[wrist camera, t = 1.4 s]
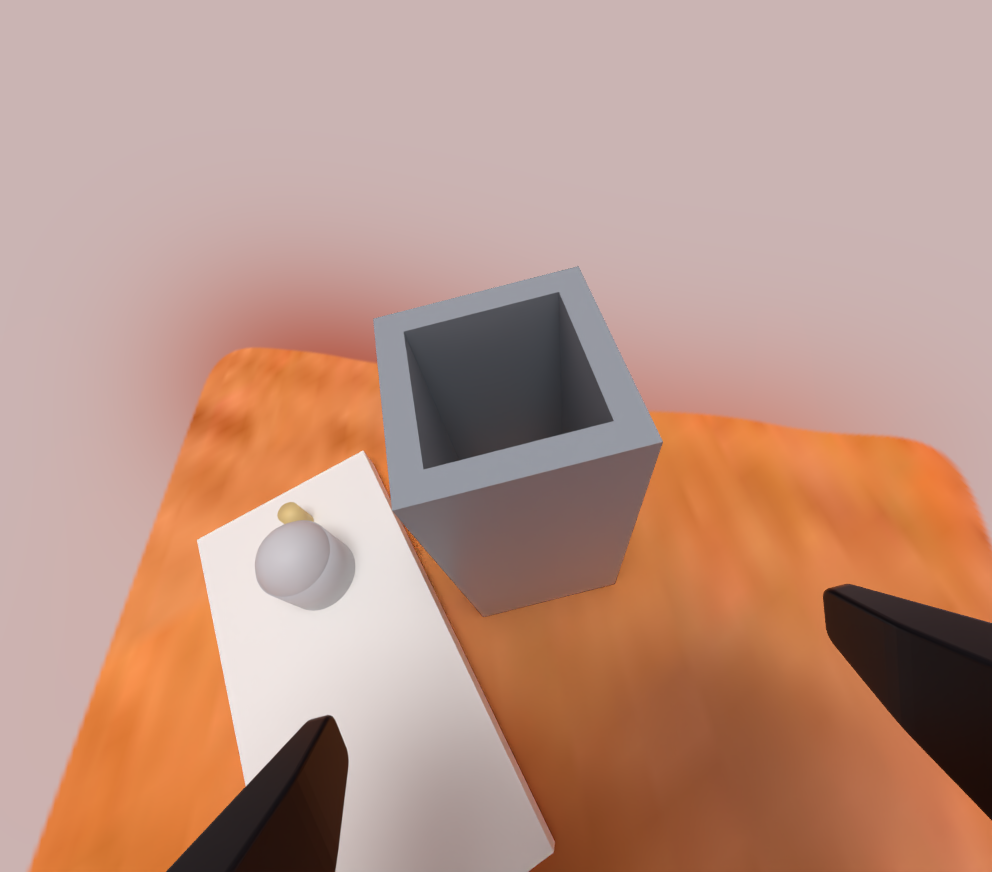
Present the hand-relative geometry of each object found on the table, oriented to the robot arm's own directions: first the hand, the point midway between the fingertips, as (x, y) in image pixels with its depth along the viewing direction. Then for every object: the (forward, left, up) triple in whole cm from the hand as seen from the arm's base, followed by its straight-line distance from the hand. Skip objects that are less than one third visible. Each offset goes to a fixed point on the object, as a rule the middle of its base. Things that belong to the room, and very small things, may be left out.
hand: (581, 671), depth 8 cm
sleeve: (+7, -1, -12) cm, 14 cm away
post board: (+5, +8, -12) cm, 15 cm away
